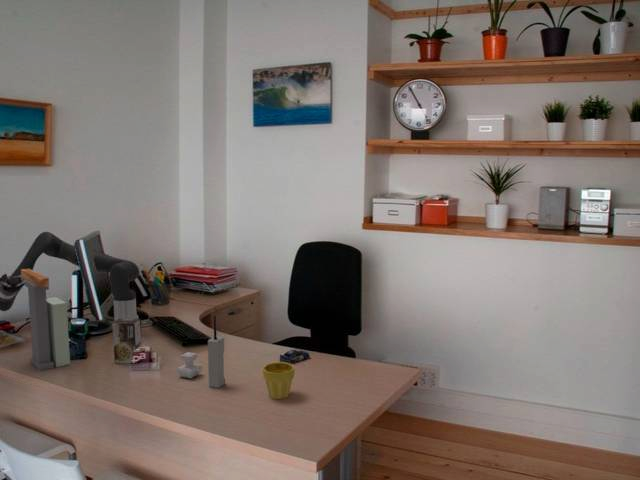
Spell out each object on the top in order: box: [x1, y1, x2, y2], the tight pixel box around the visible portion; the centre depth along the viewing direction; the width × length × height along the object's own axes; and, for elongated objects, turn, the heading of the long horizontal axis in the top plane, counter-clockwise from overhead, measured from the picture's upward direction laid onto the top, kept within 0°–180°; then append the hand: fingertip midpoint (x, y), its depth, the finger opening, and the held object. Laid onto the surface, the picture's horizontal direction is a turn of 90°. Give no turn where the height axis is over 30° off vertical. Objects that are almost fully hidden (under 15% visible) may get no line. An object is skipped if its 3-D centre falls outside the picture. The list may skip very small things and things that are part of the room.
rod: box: [21, 269, 50, 287], centre depth 231 cm, size 3×24×3 cm, turn 41°
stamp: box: [176, 351, 203, 379], centre depth 222 cm, size 9×7×8 cm
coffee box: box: [111, 318, 143, 365], centre depth 237 cm, size 9×6×16 cm
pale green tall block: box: [46, 296, 71, 368], centre depth 236 cm, size 5×12×24 cm, turn 40°
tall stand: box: [24, 280, 55, 371], centre depth 232 cm, size 5×12×32 cm, turn 40°
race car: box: [279, 349, 313, 365], centre depth 240 cm, size 15×7×4 cm, turn 140°
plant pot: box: [262, 361, 295, 400], centre depth 204 cm, size 10×10×10 cm
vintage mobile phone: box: [207, 315, 226, 389], centre depth 212 cm, size 4×5×25 cm
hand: (17, 274), depth 248 cm, fingers open, 8 cm apart
